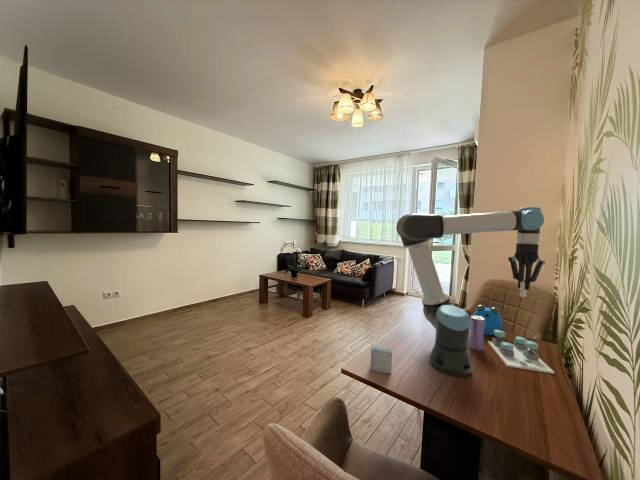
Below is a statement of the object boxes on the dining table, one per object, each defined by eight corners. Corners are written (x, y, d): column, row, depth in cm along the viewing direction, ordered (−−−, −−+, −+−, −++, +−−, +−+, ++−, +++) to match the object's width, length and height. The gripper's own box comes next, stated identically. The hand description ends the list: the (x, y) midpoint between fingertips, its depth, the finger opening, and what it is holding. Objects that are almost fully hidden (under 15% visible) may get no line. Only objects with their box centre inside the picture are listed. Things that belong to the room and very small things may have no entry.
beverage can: (484, 352, 115) (487, 320, 114) (470, 350, 116) (473, 319, 115) (479, 346, 121) (481, 315, 120) (465, 344, 122) (468, 314, 121)
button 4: (517, 348, 117) (517, 339, 117) (512, 343, 122) (513, 335, 121) (528, 349, 116) (529, 341, 116) (523, 345, 120) (524, 337, 120)
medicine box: (391, 368, 100) (392, 347, 100) (391, 374, 96) (392, 352, 95) (371, 364, 102) (371, 344, 102) (370, 370, 98) (371, 349, 98)
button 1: (502, 354, 111) (503, 345, 111) (498, 349, 115) (499, 341, 115) (514, 356, 110) (515, 347, 110) (510, 351, 114) (510, 342, 114)
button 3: (495, 341, 120) (495, 332, 119) (491, 337, 124) (492, 329, 123) (506, 342, 118) (506, 334, 118) (502, 338, 123) (502, 330, 122)
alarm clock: (500, 334, 134) (503, 307, 133) (500, 338, 129) (502, 310, 128) (472, 328, 142) (474, 301, 141) (471, 331, 137) (473, 304, 136)
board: (507, 366, 104) (507, 359, 104) (487, 342, 125) (488, 336, 125) (554, 373, 100) (554, 366, 99) (525, 347, 121) (526, 341, 121)
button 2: (527, 353, 108) (528, 344, 108) (522, 348, 113) (523, 340, 112) (539, 355, 107) (540, 346, 107) (534, 350, 112) (535, 341, 111)
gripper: (550, 244, 105) (545, 299, 107) (514, 241, 117) (510, 291, 119) (542, 244, 102) (537, 301, 104) (505, 242, 113) (502, 293, 115)
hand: (522, 296), depth 111 cm, fingers closed
